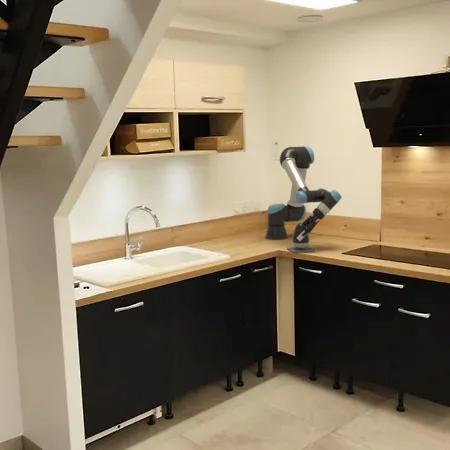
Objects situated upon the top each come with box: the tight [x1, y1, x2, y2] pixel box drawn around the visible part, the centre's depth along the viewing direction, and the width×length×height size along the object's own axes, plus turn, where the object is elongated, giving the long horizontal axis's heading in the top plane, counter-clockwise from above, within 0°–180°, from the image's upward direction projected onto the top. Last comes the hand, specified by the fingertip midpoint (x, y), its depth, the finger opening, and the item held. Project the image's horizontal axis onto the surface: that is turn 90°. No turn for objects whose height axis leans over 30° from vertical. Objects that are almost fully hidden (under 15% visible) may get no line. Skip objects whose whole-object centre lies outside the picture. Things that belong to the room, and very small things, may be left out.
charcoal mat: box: [286, 246, 316, 254], centre depth 356 cm, size 13×14×1 cm
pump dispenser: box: [291, 222, 310, 248], centre depth 355 cm, size 10×10×15 cm
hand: (296, 238), depth 354 cm, fingers open, 10 cm apart
